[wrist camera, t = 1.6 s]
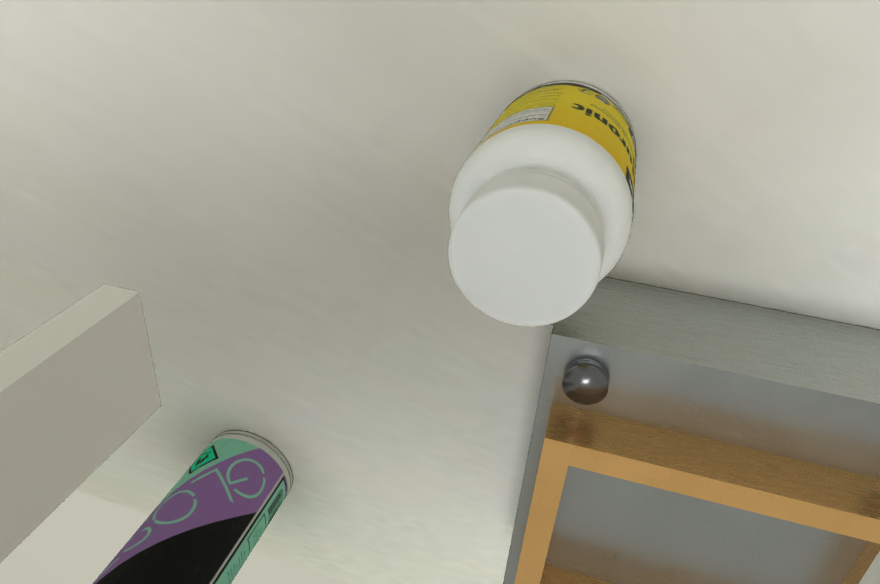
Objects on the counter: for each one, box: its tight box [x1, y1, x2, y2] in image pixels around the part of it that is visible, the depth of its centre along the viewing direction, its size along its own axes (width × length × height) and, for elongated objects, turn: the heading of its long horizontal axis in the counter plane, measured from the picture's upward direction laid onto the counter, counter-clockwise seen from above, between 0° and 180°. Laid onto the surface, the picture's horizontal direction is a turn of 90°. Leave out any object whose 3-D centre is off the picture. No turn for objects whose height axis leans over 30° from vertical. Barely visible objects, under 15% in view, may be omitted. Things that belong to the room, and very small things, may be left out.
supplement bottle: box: [448, 81, 636, 327], centre depth 21 cm, size 5×5×10 cm
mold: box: [503, 277, 880, 584], centre depth 27 cm, size 14×16×7 cm
